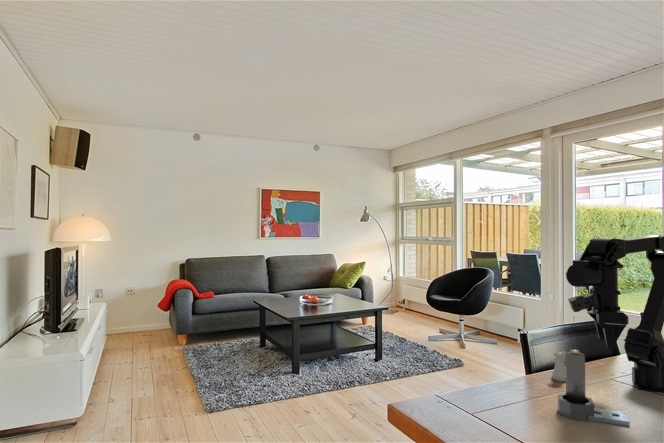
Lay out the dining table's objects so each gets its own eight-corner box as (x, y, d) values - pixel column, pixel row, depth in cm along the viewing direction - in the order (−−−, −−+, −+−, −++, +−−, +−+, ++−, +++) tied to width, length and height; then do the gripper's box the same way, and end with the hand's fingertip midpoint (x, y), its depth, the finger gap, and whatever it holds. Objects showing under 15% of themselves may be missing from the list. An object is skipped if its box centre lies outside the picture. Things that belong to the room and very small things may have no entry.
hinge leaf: (622, 414, 99) (621, 399, 99) (630, 427, 92) (630, 411, 92) (557, 405, 104) (556, 391, 104) (560, 417, 97) (560, 402, 97)
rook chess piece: (571, 382, 120) (570, 354, 120) (554, 381, 121) (553, 353, 121) (565, 377, 124) (565, 350, 125) (549, 376, 125) (549, 349, 125)
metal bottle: (582, 406, 101) (581, 348, 101) (588, 413, 97) (587, 353, 97) (563, 405, 102) (563, 347, 102) (569, 412, 98) (568, 352, 98)
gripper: (565, 280, 124) (566, 333, 123) (575, 288, 106) (576, 350, 106) (610, 282, 120) (611, 337, 119) (628, 290, 102) (629, 355, 102)
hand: (605, 344), depth 112 cm, fingers open, 9 cm apart
